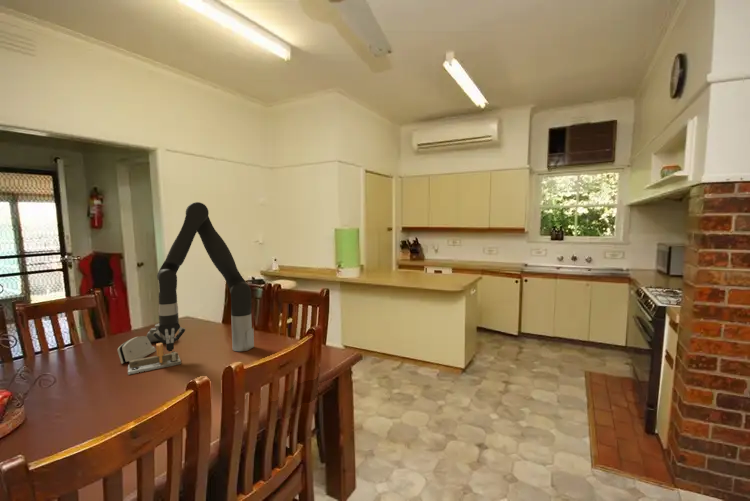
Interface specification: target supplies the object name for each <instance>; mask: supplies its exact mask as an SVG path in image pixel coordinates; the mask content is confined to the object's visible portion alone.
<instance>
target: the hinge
mask: <svg viewBox="0 0 750 501" xmlns="http://www.w3.org/2000/svg"><path fill="white" fill-rule="evenodd" d="M154 352H157V349H156V347H155V346H153V345H152V342H150V341H149V339H148V338H147V335H146V336H145V335H141V336H135V337H133V338H130V339H128V340H127V341H124V342H123V343H122V344H120V346H119V347H118V348H117V354H118V357H119V360H120V363H121V364H124V363H127V362H128V363H129V361H131V360H137V359H142V358H146V357H147V356H150V354H153V353H154Z"/></svg>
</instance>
